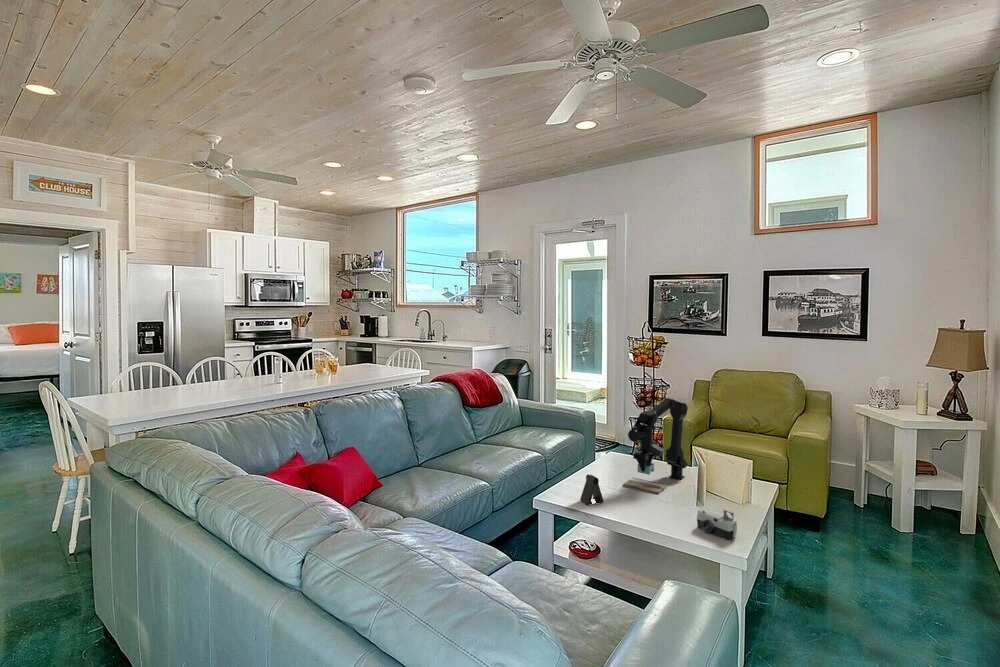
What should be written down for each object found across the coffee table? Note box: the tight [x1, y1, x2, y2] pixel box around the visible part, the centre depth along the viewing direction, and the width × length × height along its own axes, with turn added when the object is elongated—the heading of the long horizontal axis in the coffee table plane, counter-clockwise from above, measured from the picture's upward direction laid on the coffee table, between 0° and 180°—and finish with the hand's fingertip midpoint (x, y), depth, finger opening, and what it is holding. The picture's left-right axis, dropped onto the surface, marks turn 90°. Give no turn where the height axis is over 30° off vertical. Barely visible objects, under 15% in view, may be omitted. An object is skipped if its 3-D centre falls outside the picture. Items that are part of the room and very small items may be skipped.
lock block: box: [637, 462, 655, 476], centre depth 252 cm, size 6×6×4 cm
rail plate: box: [622, 477, 669, 495], centre depth 253 cm, size 13×18×2 cm
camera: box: [696, 508, 738, 541], centre depth 201 cm, size 15×8×10 cm, turn 31°
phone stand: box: [579, 473, 605, 506], centre depth 232 cm, size 9×6×12 cm, turn 112°
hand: (645, 469), depth 252 cm, fingers closed on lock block, 6 cm apart
